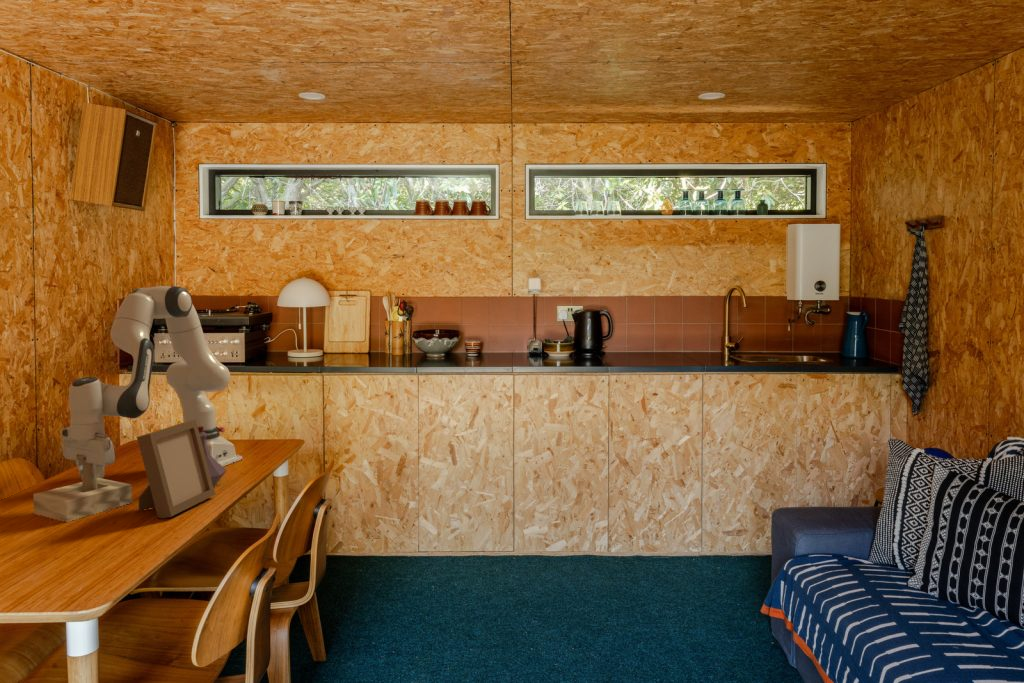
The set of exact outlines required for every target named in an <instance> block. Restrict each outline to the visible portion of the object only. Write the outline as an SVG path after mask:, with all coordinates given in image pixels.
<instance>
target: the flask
mask: <svg viewBox="0 0 1024 683" xmlns="http://www.w3.org/2000/svg"><path fill="white" fill-rule="evenodd" d="M203 428H204V427H203V426H198V430H199V434H200V438H201V442H202V445H203V449H204V453H205V457H206V461H207V465H208V468H209V472H210V476H211V480H212V484H213V487H214V486H216V485H217V484H218V483H219V482H220V480H221V479H222V477H223V476H224V475H225V474H226V472H227V471H228V470H227V469H226V468H225V466H223V467H222V466H221V465H220V464H219V463H218V462H217V461H216V460H215V459H214V458H213V457H212V456H211V455H210V453H209V450H208V447H207V444H206V438H207V436H208V434H206V433H205V432H203ZM216 483H217V484H216Z"/></svg>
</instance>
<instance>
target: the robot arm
mask: <svg viewBox="0 0 1024 683" xmlns="http://www.w3.org/2000/svg"><path fill="white" fill-rule="evenodd" d="M154 319H155V320H156V319H158V320H159V319H160V320H161V319H165V323H166V327H167V332H168V336H169V338H170V342H171V345H172V349H173V351H174V352H175V354H176V355H178V356H179V357H180V358H182V360H181V361H177V362H174V363H171V364H170V365H169V366H168V368H167V370H166V374H165V379H166V382H167V383H168V384H167V385H169V387H171V388H172V389H173V390H174V392H175V393H176V396H177V397H178V400H179V402H180V405H181V409H182V423H184V422H189V421H193V420H196V422H197V426H203V427H204V428H203V432H205V433H206V434H208V436H207V438H206V444H207V447H208V450H209V453H210V455H211V456H212V457H213V458H214V459H215V460H216V461H217V462H218V463H219V464H220V465H221V466H222V467H225V466H227V465H231V464H234V463H237V462H238V461H241V459H242V460H243V456H242V455H240V454H236V448H235V445H234V444H233V443H232V442H231V441H229V440H228V439H226V438H224V437H223V436H222V435H221V433H225V431H226V427H225V426H219V427H218V426H217V424H216V422H217V421H216V419H217V418H216V407H215V405H214V403H213V402H211V401H210V399H209V398H208V396H207V394H206V393H214V392H221V391H224V390H225V389H227V387H228V386H229V384H230V382H231V373H230V370H229V368H228V367H227V366H226V365H224V364H223V363H222V362H220V361H219V360H218V359H217V357H216V356H215V355H214V353H213V352H212V351H211V349H210V347H209V345H208V342H207V341H206V337H205V335H204V331H203V327H202V324H201V321H200V318H199V314H198V312H197V310H196V308H195V306H194V304H193V297H192V295H191V293H190V292H189V291H188V290H187V288H184V287H182V286H176V285H175V286H168V285H167V286H166V285H157V286H152V287H140V288H136V289H134V290H132V291H131V292H130V293H129V294H128V295H126V296H125V297H124V299H123V301H122V302H121V304H120V306H119V308H118V310H117V312H116V314H115V317H114V318H113V323H112V325H111V328H110V339H111V341H112V342H113V344H114V345H115V346H116V347H118V348H119V349H120V350H121V351H124V352H125V353H128V354H130V355H131V356H132V359H133V362H132V364H133V365H132V369H131V371H132V372H131V378H130V382H129V383H128V384H126V385H115V384H108V383H105V382H102V381H100V379H99V377H96V376H86V377H81V378H78V379H75V380H74V381H72V383H71V384H70V387H69V393H68V407H69V408H68V409H69V411H70V415H71V416H70V421H69V426H68V427H65V428H61V429H60V436H61V437H62V438H61V446H62V455H63V457H64V458H65V459H66V460H70V461H71V460H72V461H75V464H76V467H77V468H78V474H79V476H81V475H83V465H82V462H81V461H79V460H77V459H76V455H77V454H78V455H83V456H87V461H86V463H91V464H93V467H95V468H94V471H93V472H92V477H93V478H99V477H100V471H101V469H102V467H103V466H105V467H106V466H110V465H113V464H114V462H115V460H116V459H115V458H116V457H115V456H116V455H115V450H114V443H113V441H112V440H111V438H110V437H109V436H108V434H105V421H104V420H105V419H104V417H103V416H106V417H107V416H109V417H120V418H121V417H122V418H127V419H128V418H129V419H138V418H140V417H141V416H142V415H144V414H145V412H146V411H147V410H148V408H149V406H150V401H151V399H150V385H151V377H152V370H153V364H154V353H155V349H154V348H155V346H154V344H153V342H152V341H151V339H150V335H151V334H150V333H151V330H152V326H153V322H154ZM85 460H86V458H85ZM233 462H234V463H233Z"/></svg>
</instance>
